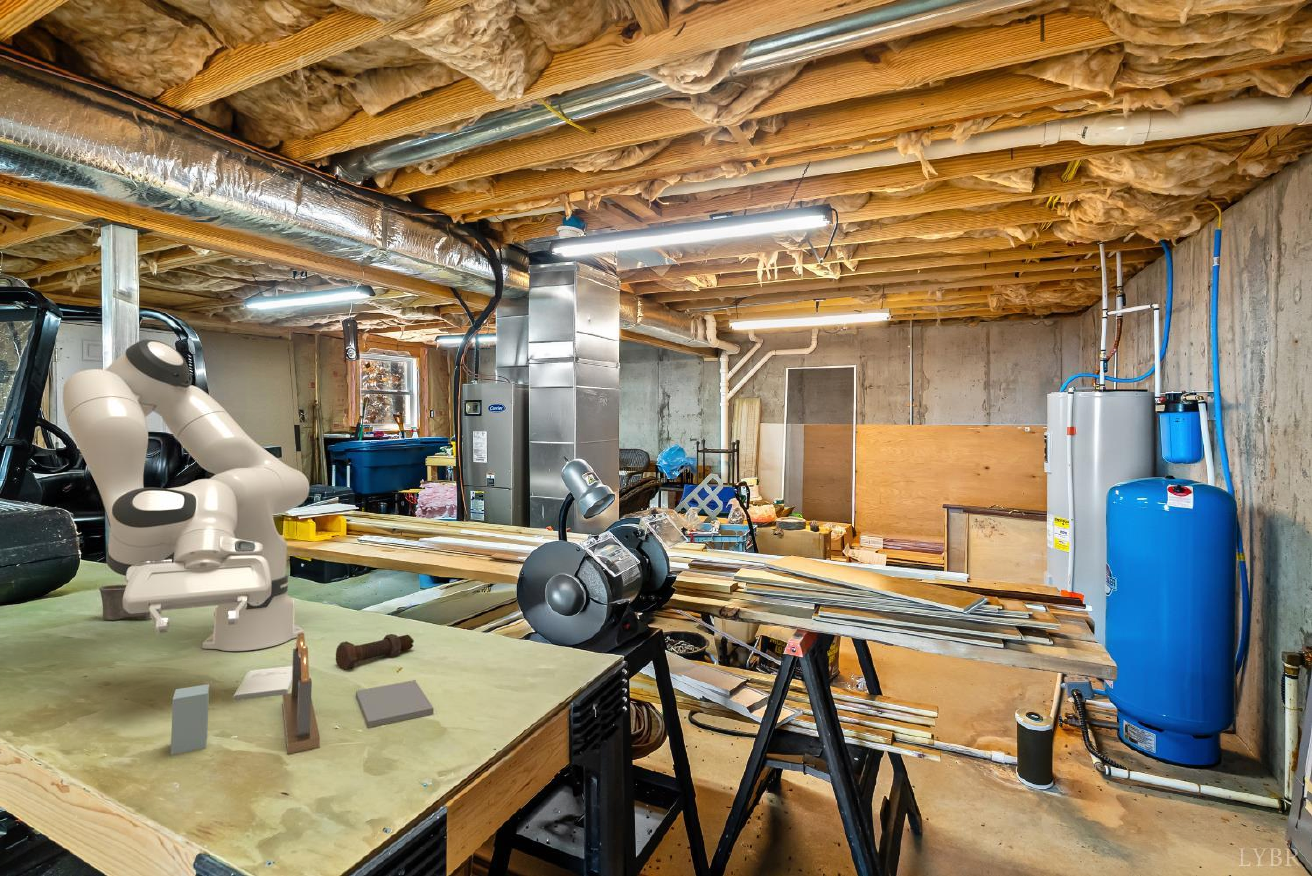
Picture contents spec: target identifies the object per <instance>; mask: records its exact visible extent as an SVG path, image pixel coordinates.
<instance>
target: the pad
mask: <svg viewBox="0 0 1312 876" xmlns="http://www.w3.org/2000/svg"><path fill="white" fill-rule="evenodd" d="M355 698H356V701H357V704H358V706H359V708H360V710H361V714H362V716H363V719H364V721H365V723H366V727H367V728H368V729H369V728H375V727H379V726H382V725H387V724H394V723H397V722H402V721H403V722H404V721H407V720H411V719H416V718H417V719H418V718H420V717H421V718H422V717H425V716H430V715H434V706H433V705H432V704H431V702H430V701H429V699H428V697H427V695H426V694H425V693H424V692H423V690H422V689H421V687H420V685H419V684H418V682H417V681H416V680H415V679H414V680H413V679H412V680H409V681H402V682H396V683H391V684H386V685H380V686H374V687H369V688H364V689H358V690H355Z"/></svg>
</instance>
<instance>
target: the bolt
mask: <svg viewBox="0 0 1312 876" xmlns="http://www.w3.org/2000/svg"><path fill="white" fill-rule="evenodd" d="M414 642H415V640H414V639H413V638H412V636H411V635H410V634H405V635H400V636H398V635H396V634H392V633H390V634H386V635H384V637H383V639H381V640H377V641H372V642H368V643H362V644H358V645H357V644H354V643H352V642H349V641H342V642H340V643H339V645H338V646H337V648H336V652H335V663H336V665H337V668H338V669H339V670H341V671H346V672H347V671H351V670H353V669H354V667H355V665H356V664H357V663H360V662H362V661H366V660H367V661H368V660H369V659H375V658H380V657H383V656H385V657H387V658H396V657H397V656H399V654H400V652H405V651H408V650H411V649H412V648H413V647H414Z"/></svg>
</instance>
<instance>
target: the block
mask: <svg viewBox="0 0 1312 876" xmlns="http://www.w3.org/2000/svg"><path fill="white" fill-rule="evenodd" d="M209 697H210V684H209V683H208V684H202V685H201V684H200V685H195V686H188V687H183V688H177V689H175V691H174V694H173V697H172V709H171V710H172V711H171V735H170V737H171V739H170V756H174V755H175V756H176V755H179V754H185V753H190V752H193V751H194V752H195V751H200V750H203V749H205V750H206V749H207V740H208V730H209V729H208V728H209V700H210V698H209Z"/></svg>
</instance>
